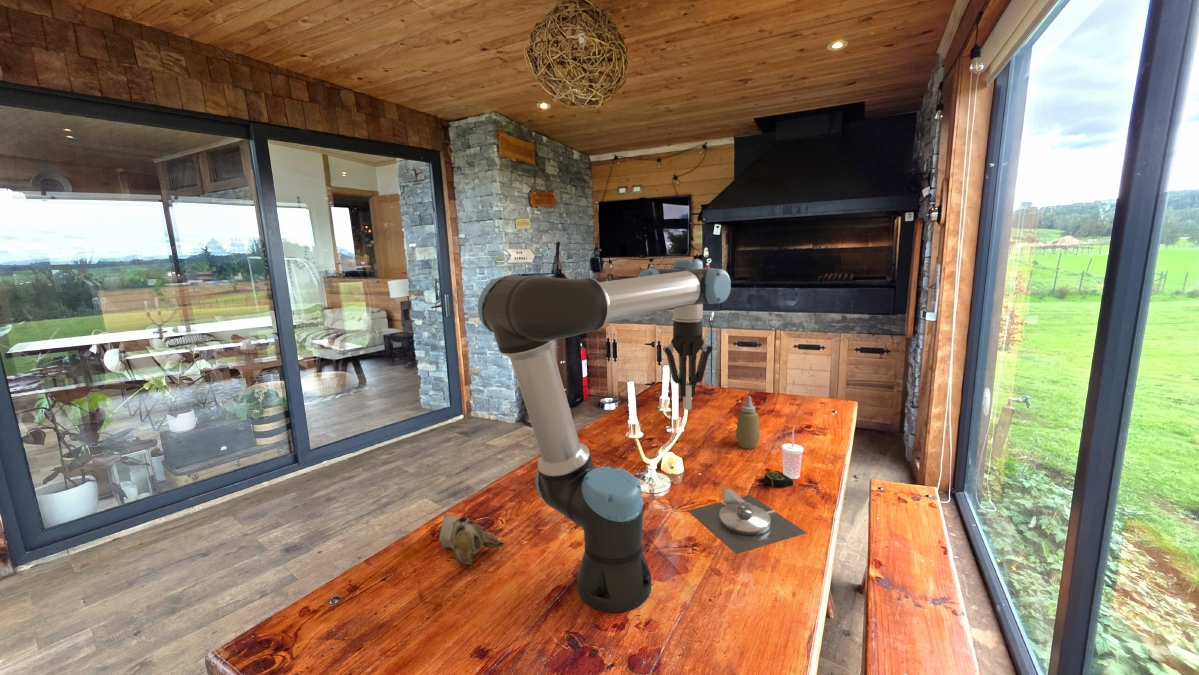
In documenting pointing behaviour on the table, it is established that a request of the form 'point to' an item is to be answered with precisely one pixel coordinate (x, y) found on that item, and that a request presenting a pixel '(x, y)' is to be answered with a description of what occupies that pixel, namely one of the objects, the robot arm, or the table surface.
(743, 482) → the table surface
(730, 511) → the dial
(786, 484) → the tape measure
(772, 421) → the table surface
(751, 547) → the plate
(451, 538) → the ceramic sculpture
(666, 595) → the table surface
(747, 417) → the squeeze bottle
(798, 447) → the beverage cup
